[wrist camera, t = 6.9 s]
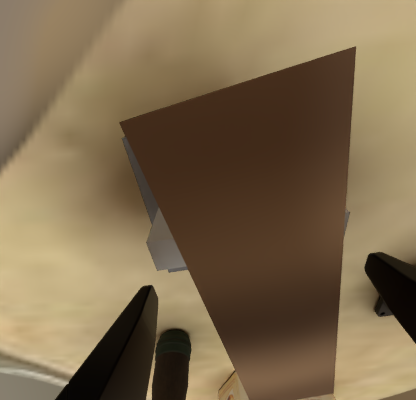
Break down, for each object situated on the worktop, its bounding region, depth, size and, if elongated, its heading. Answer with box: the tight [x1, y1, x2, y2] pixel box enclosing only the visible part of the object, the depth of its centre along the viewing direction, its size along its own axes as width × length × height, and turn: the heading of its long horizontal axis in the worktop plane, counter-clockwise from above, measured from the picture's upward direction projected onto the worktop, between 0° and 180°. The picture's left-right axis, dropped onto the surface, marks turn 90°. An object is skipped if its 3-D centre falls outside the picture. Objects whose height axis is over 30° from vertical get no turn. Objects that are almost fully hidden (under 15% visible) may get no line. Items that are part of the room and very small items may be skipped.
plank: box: [119, 46, 356, 400], centre depth 8 cm, size 14×4×4 cm, turn 16°
